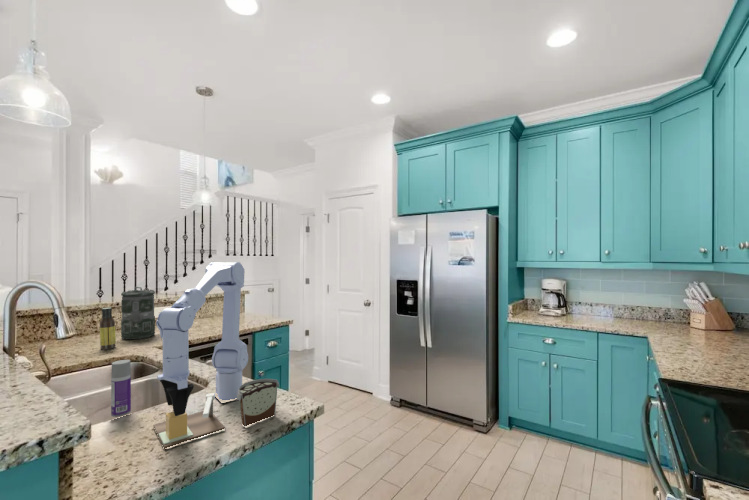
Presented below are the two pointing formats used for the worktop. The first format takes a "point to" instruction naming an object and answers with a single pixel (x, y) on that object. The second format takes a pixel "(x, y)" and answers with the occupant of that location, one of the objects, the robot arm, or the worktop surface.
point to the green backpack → (137, 314)
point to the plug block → (176, 425)
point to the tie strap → (208, 404)
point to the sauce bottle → (107, 329)
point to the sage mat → (166, 439)
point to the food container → (257, 400)
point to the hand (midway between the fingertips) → (176, 409)
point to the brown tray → (195, 426)
